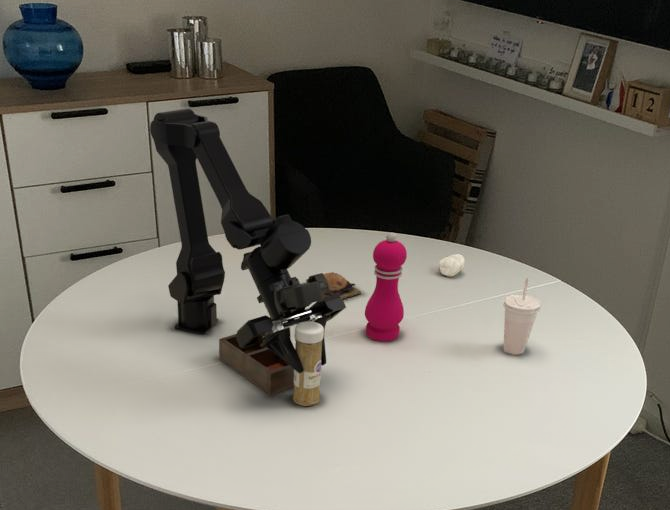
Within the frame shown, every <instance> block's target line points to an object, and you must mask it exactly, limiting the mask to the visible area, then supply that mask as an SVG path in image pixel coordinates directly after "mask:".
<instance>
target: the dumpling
mask: <svg viewBox="0 0 670 510" xmlns="http://www.w3.org/2000/svg"><path fill="white" fill-rule="evenodd" d="M465 262H466V260H465V256H463V255H461V254H458V253H454V254H451V255H448V256H446V257H444V258H442V259H440V260H439V262H438V266H440V267H439V271H440V274H441V275H443V276H446V277H455V276H456V275H457V274H458V273H459V272H460V271H462V269H463V268H464V266H465V264H466V263H465Z"/></svg>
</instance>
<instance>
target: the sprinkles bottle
mask: <svg viewBox="0 0 670 510" xmlns="http://www.w3.org/2000/svg"><path fill="white" fill-rule="evenodd" d="M323 336H324V337H325V330H324V328H323V326H322V325H321V324H319V323H316V322H301V323H299V324H297V325H295V327H294V340H295V344H294V345H295V346H294V348H295V350H296V352H297V354H298V357H299V359H300V361H301V363H302V366H303V369H304V371H303V372H302V373H298V372H297V371H296V370H295V369H294V387H293V395H292V400H293V402H294V403H295V404H297V405H299V406H303V407H310V406H314V405H316V404H318V403H319V402H320V400H321V396H320V388H321V385H320V384H321V376H322V365H321V352H322V340H323Z"/></svg>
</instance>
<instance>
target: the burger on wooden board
mask: <svg viewBox="0 0 670 510" xmlns="http://www.w3.org/2000/svg"><path fill="white" fill-rule="evenodd" d="M323 275H324V277H325V278H326V280H327V282H328V286H329V291H328V292H327V293H324V294H322V297H323V298H325V297H328V296H332V295H335V294H336V295H338V296H340V297H341V298H342V299H343V300H344V299H346V298H351V297H353V296H356V295H359V294H362V293H361V292H362V291H361V290H360V289H359V288H357V287H356V284H355V283H350V281H349V280H348V279H346V278H345V277H344V276H343V275H341V274H338V273H337V272H334V271H332V272H326V273H323ZM307 282H309V277H308V278H307V279H306V282H305V283H307Z"/></svg>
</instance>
